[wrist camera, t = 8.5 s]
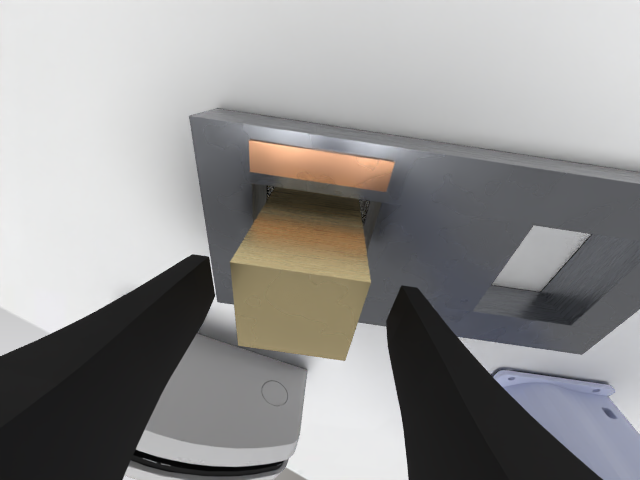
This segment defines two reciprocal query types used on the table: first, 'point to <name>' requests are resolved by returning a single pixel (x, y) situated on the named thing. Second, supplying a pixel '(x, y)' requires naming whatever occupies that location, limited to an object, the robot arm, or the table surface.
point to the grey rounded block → (222, 417)
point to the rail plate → (437, 222)
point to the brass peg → (301, 275)
